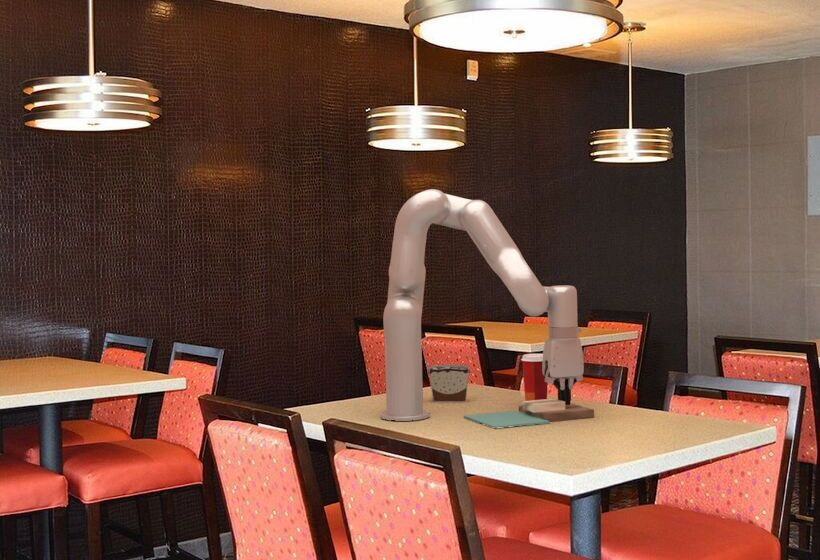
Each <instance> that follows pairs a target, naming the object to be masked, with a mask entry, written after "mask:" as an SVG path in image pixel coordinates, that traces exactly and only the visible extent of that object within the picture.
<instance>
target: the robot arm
mask: <svg viewBox="0 0 820 560" xmlns="http://www.w3.org/2000/svg"><path fill="white" fill-rule="evenodd" d="M396 216H397V217H396V219H395V223H394V231H393V239H392V246H391V254H390V255H391V256H390V263H389V267H388V276H389V278H388V279H389V281H388V290H387V291H388V292H387V302H386V305H385V307H384V311H383V318H382V319H383V322H382V323H383V335H384V359H385V365H384V366H385V398H386V400H385V402H386V405H385V406H386V410H385V411H382V412H381V413H380V419H383V420H385V419H386V420H385V421H391V420H395V422H410V421H411V422H412V420H413V421H421V420H424V419H428V418H429V417H430V411H428V410H425V409H424V397H423V396H424V391H423V389H424V388H423V387H424V386H423V356H422V355H423V354H422V353H423V352H422V351H423V350H422V349H423V348H422V315H423V306H424V305H423V304H424V296H425V295H424V293H425V282H426V272H427V270H426V266H425V255H426V246H427V245H426V243H427V236H428V235H427V234H428V230H429V228H430V226H431V225H432V224H434V225H438V226H439V225H440V226H444V227H447V228H452V229H456V230H460V231H463V232H464V231H465V232H467V234H468V235H469V237H470V238H471V240H472V241H473V243H474V244H475V246H476V247H477V249H478V250H479V252H480V253H481V255H482V256H483V257H484V258H483V259H485V261H486V262H487V264H488V265H489V267H490V268H491V269H492V270H493V272H495V274H496V275H497V276H498V277H499V278H500V279H501V281H502V282H503V284H504V285H505V286H506V288H507V289H508V291H509V292H510V294H511V295H512V297H513V298H514V300H515V301H516V303H517V305H518V307H519V309H520V310H521V311H522V312H523V313H524V314H526V315H527V316H530V317H539V316H541V315H543V314H544V313H547V331H548V332H547V335H548V336H547V337H548V338H546V339H545V340H544V344H543V351H542V354H543V363H542V372H543V375H544V376H545V382H546V383H548V384H550V385H551V384H552V385H553V386H554V387H555V389H556V390H557V400H561V401H564V402H565V405H570V403H571V401H572V390H573V389H574V385H576V383H578V382H581V381H583V380H584V375H583V374H584V372H585V371H584V370H585V368H584V367H585V363H584V352H583V346H582V342H581V339H580V337H579V334H582V328H581V327H579V325H578V294H577V293H578V291H577V288H576V287H575V286H574V285H567V284H566V285H565V284H564V285H552V286H543V285H542V284H541V282H540V281H539V279H538V278H537V277H536V275H535V273H534V272H533V271H532V269H531V268H530V266H529V265H528V263H527V262H526V260H525V258H524V257H523V255H522V252H521V250H520V249H519V247H518V246H517V244H516V243H515V242H514V239H512V237H511V236H510V234H509V232H508V231H507V230H506V228H505V226H503V224H502V222H501V220H500V219H499V217H497V215H496V214H495V212H494V210H493V208H491V206H490V205H489V203H487V202H486V201H484V200H482V199H468V198H466V197H465V198H464V197H460V196H457V195H453V194H448V193H444V192H443V191H442V190H439V189H435V188H430V189H426V190H423V191H421V192H418V193H416V194H414V195H412V196H411V197H410V198H409V199H408V200H407V201H406V202H404V203H403V205H402V206H401V208H400V210H399V212H398V214H397V215H396Z"/></svg>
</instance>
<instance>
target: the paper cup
mask: <svg viewBox="0 0 820 560" xmlns="http://www.w3.org/2000/svg"><path fill="white" fill-rule="evenodd" d="M520 361H522V373H523V374H522V375H523V385H524V387H523V388H524V399H525V400H524V401H532V400H543V399H548V386H549V385H548V384H549V383H546V382H545V376H544V375H543V372H542V363H543V353H526V354H523V355H522V356H521V359H520Z"/></svg>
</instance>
